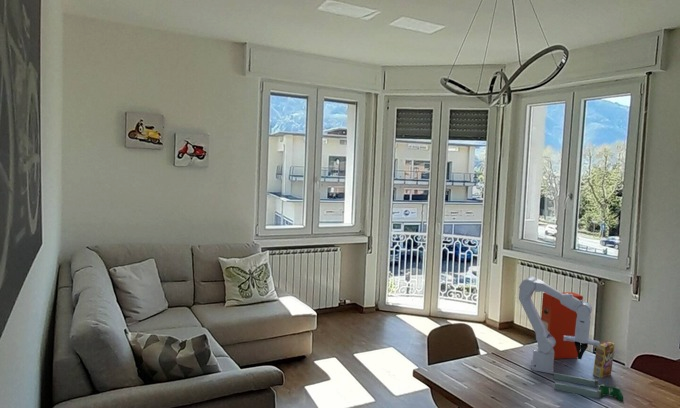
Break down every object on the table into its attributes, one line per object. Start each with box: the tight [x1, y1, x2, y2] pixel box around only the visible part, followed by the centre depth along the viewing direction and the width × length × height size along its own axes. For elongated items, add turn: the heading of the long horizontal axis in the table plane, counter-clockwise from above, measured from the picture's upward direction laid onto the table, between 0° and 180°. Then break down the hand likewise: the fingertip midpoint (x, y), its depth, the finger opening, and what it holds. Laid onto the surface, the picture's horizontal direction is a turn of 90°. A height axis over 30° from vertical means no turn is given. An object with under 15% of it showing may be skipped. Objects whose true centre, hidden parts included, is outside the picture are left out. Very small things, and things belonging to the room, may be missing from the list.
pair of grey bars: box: [553, 371, 602, 399], centre depth 212 cm, size 18×12×3 cm
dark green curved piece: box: [597, 383, 624, 402], centre depth 206 cm, size 9×4×6 cm
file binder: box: [540, 291, 584, 360], centre depth 247 cm, size 8×17×32 cm, turn 103°
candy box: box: [592, 340, 616, 379], centre depth 226 cm, size 9×4×15 cm, turn 123°
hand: (579, 358), depth 221 cm, fingers closed
